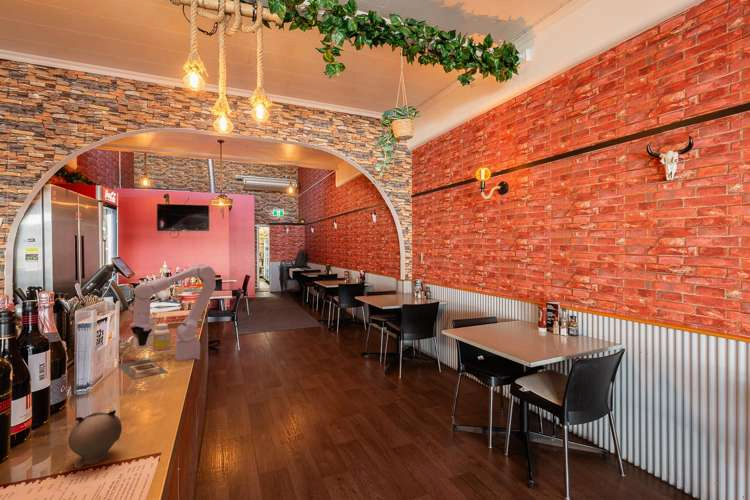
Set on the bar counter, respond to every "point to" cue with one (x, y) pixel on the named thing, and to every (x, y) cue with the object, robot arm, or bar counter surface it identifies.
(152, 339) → the syrup box
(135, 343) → the plug
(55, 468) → the bar counter surface
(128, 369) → the mat
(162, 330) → the supplement bottle
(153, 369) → the frame
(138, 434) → the bar counter surface
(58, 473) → the bar counter surface
